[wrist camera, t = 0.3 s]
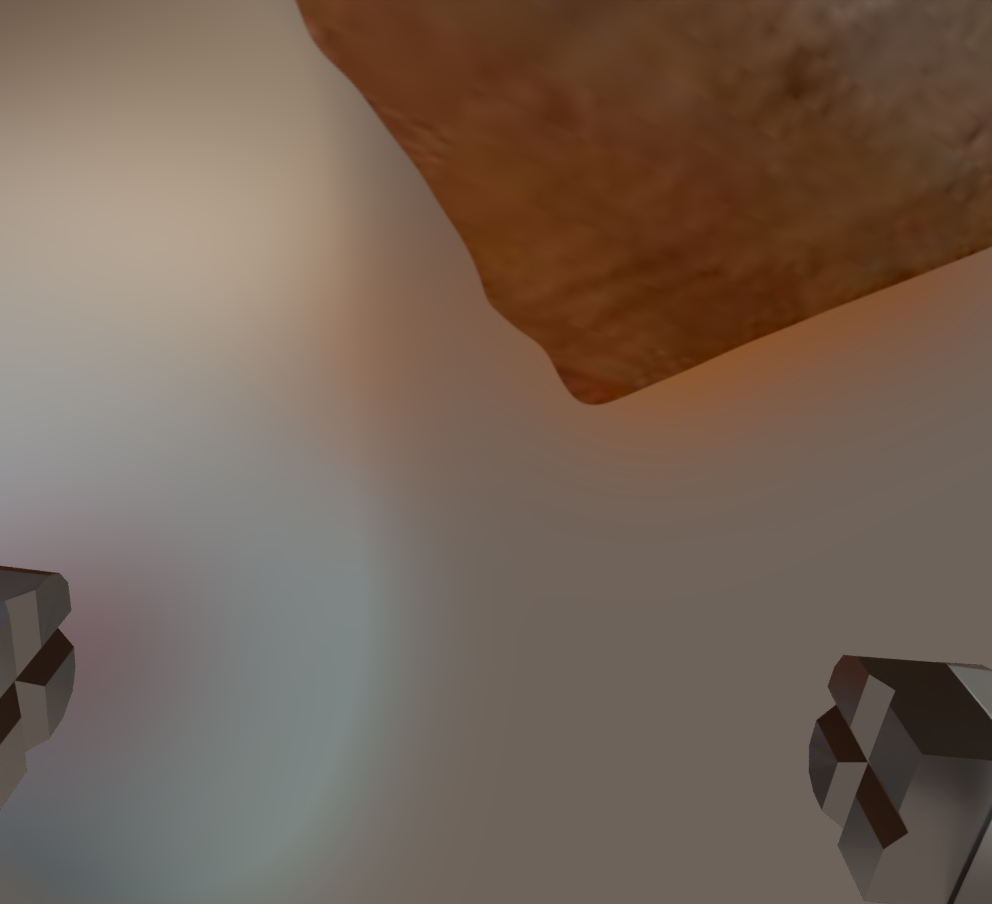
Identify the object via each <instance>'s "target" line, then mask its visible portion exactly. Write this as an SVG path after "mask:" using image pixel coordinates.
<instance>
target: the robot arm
mask: <svg viewBox="0 0 992 904" xmlns="http://www.w3.org/2000/svg"><path fill="white" fill-rule="evenodd" d="M70 604H71V603H70V595H69V586H68V582H67V581H66V580H65V579H64V578H63V576H62V575H61V574H60V573H55V572H46V571H39V570H31V569H22V568H14V567H6V566H0V809H1V808H2V806H3V805H4V804H5V802H6V801H7V799H8V798H9V796H10V795H11V793H12V792H13V790H14V789H15V788H16V786H17V785H18V783H19V782H20V781H21V779H22V778H23V776H24V775H25V773H26V772H27V769H26V758H25V752H26V751H28V750H29V749H31V748H33V747H35V746H37V745H39V744H40V743H42V742H44V741H46V740H48V739H50V737H51V735H52V734H53V732H54V731H55V729H56V728H57V726H58V725H59V723H60V722H61V720H62V719H63V716H64V714H65V711H66V708H67V705H68V702H69V699H70V697H71V694H72V691H73V684H74V675H75V654H74V646H73V645H72V644H71V643H70V642H69V640H68V639H67V638H66V637H65V636H64V635H63V633H62V632H61V631H60V630H59V629H58V626H59V625H60V624H61V623H62V622H63V620H64V619H65V618H66V616H67V615H68V614H69V613H70V612H71V605H70ZM828 688H829V691H830V693H831V695H832V697H833V699H834V701H835V703H836V705H835V706H833V707H832V708H831V709H830V710H829V711H827V712H826V713H825V714H823V715H822V716H821V717H820V718H818V719H817V720H816V723H815V727H814V730H813V734H812V737H811V741H810V744H809V775H810V779H811V784H812V788H813V792H814V794H815V797H816V799H817V801H818V803H819V805H820V808H821V810H822V811H823V812H824V813H825V814H827V815H828V816H829V817H830V818H832V819H833V820H834V821H835V822H836V823H838V824H839V825H840V826H841V827H842V828H844V829H843V831H842V834H841V837H840V840H839V843H838V847H839V849H840V851H841V853H842V856H843V858H844V860H845V862H846V864H847V866H848V868H849V870H850V873H851V875H852V877H853V879H854V881H855V883H856V885H857V887H858V889H859V891H860V894H861V896H862V898H863V900H864V901H869V902H878V903H887V904H992V669H989V668H988V667H985V666H983V665H977V664H961V663H947V662H925V661H913V660H900V659H888V658H876V657H863V656H851V655H850V656H849V655H843V656H842V657H841V659H840V660H839V661H838V663H837V664H836V665H835V667H834V670H833V672H832V675H831V678H830V681H829V684H828Z"/></svg>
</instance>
